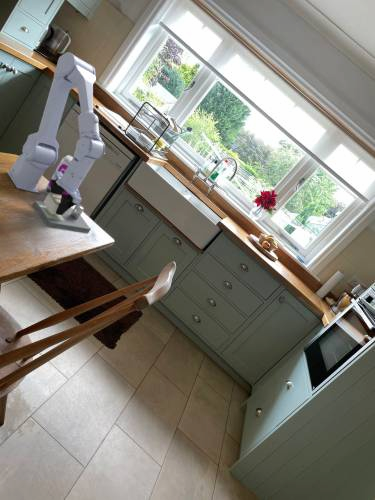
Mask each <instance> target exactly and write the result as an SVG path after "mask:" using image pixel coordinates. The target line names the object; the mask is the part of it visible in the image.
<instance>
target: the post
mask: <svg viewBox="0 0 375 500" xmlns="http://www.w3.org/2000/svg"><path fill="white" fill-rule="evenodd" d="M72 209H73V211H72V213H71V214H70V217H71V218H72V219H74V220H78V218H79V216H80V215H81V216H82V213H83V212H84V210H85V207H84V206H83V205H82V204H80V203H79V204H76V205H74V208H72Z"/></svg>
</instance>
